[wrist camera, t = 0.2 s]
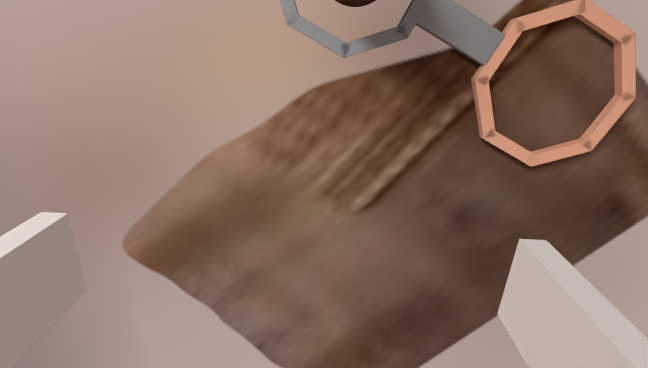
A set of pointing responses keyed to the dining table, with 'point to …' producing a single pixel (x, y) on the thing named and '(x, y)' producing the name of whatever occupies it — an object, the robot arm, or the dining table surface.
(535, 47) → the dining table surface
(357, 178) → the dining table surface
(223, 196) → the dining table surface
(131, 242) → the dining table surface
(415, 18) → the ring rail
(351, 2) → the supplement bottle
